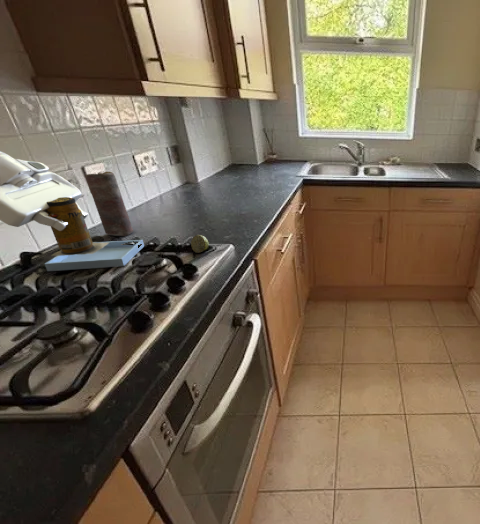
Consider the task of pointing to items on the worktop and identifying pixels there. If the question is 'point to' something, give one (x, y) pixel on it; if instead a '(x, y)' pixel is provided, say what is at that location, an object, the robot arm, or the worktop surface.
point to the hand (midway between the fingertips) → (75, 222)
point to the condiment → (71, 229)
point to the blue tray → (97, 257)
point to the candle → (109, 203)
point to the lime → (199, 243)
